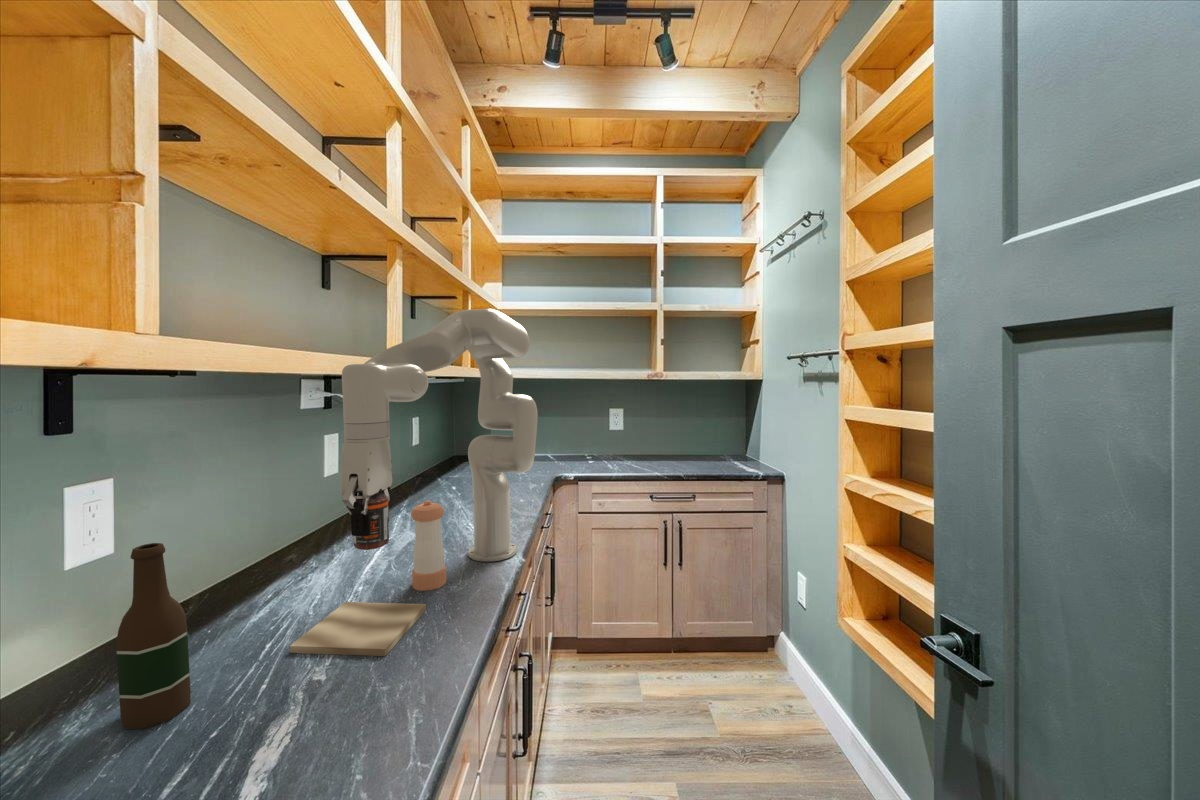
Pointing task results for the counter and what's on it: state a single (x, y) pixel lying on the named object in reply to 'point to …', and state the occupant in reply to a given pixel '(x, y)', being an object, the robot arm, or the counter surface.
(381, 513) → the supplement bottle
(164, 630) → the beer bottle
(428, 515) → the pepper shaker
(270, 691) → the counter surface
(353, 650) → the birch board
